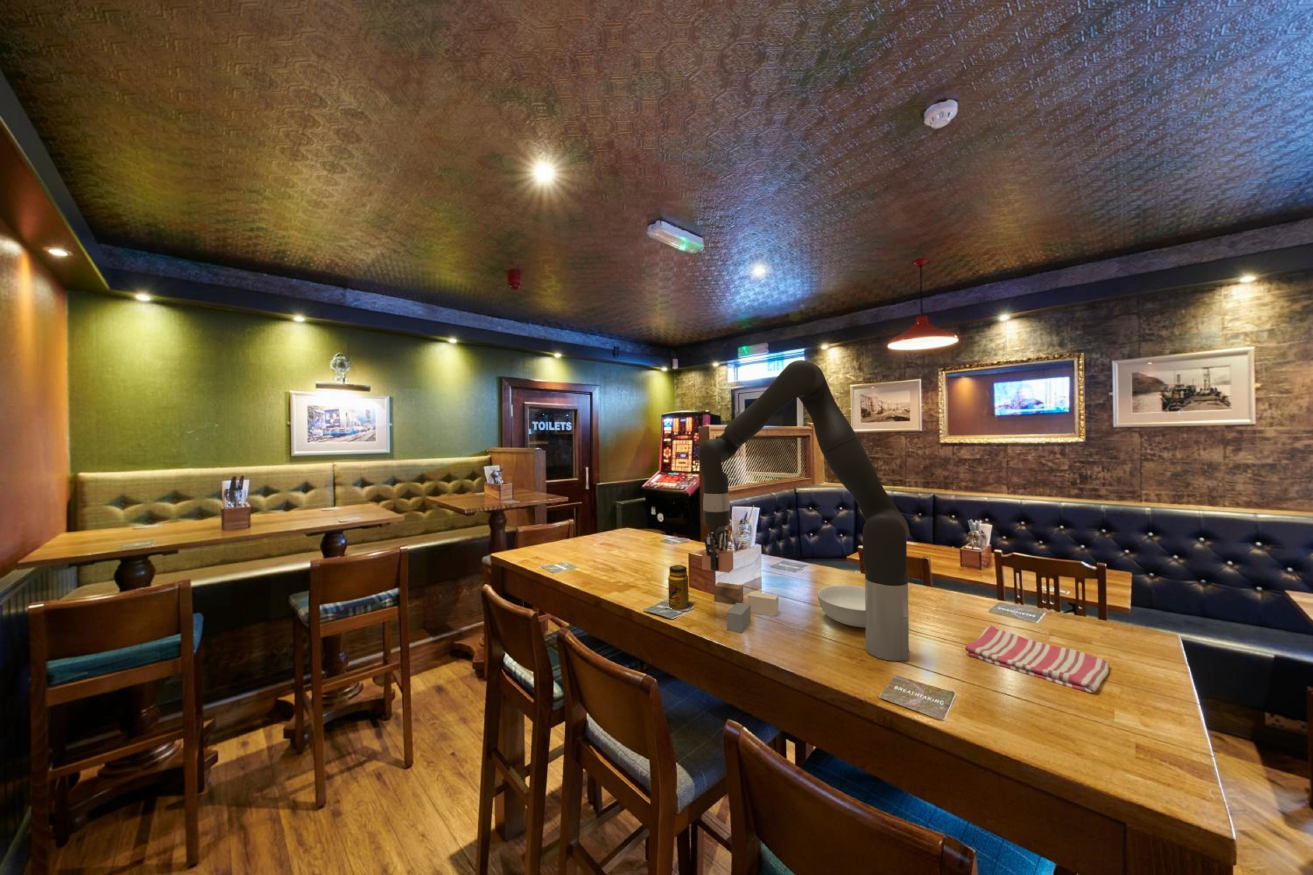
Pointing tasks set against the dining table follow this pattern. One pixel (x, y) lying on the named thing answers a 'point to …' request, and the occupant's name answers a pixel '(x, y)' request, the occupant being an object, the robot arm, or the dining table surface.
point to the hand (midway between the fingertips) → (717, 567)
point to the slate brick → (738, 617)
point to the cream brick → (764, 603)
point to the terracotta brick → (724, 561)
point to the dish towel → (1039, 659)
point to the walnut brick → (728, 593)
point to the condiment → (678, 588)
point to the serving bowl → (844, 604)
